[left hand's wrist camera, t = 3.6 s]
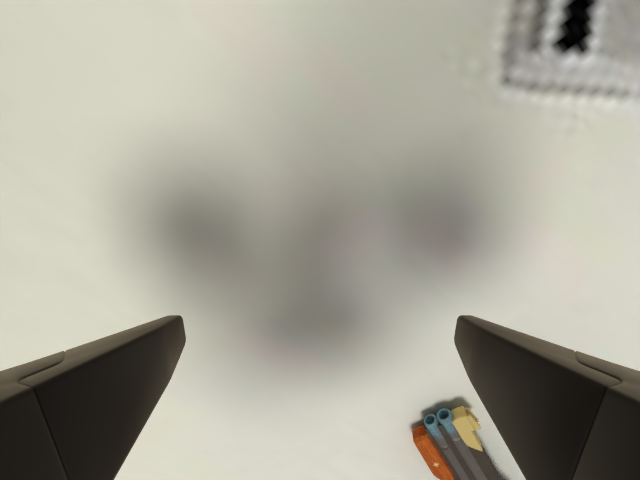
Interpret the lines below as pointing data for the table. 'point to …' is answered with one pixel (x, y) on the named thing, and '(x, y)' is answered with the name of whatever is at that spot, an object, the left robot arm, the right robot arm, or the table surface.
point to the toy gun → (454, 446)
